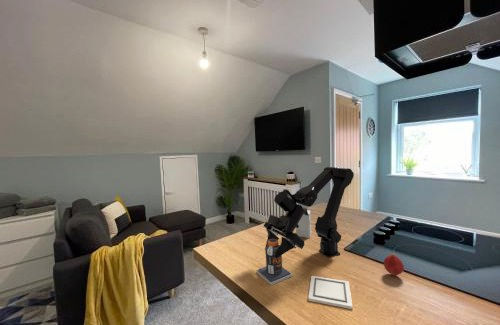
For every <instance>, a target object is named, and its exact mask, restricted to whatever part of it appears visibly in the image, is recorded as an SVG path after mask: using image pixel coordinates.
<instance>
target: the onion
mask: <svg viewBox="0 0 500 325" xmlns="http://www.w3.org/2000/svg"><path fill="white" fill-rule="evenodd" d="M383 266H384V269H385V270H386V271H387V273H389V274H390V275H392V277H396V276H398V275H401V274H402V273H403V272H404V269H405V267H404V263H403V262H402V260H401V259H400V258H399V257H398V256H396V254H395V253H391V254H389V255H387V256H386V257H385V258H384V260H383Z"/></svg>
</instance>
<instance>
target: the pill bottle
mask: <svg viewBox="0 0 500 325" xmlns="http://www.w3.org/2000/svg"><path fill="white" fill-rule="evenodd" d="M279 246H280V244H279V239H278V240H277V239H269V240H268V245H267V246H266V245H265V247H266V248H264V251H265V265H266V266H265V267H266V269H267V272H268V273H270V274H279V273H281V272H282V267H283V254H282V255H281V256H279V257H278V258H276V257H275V254H276V252H277V250H278V248H279Z"/></svg>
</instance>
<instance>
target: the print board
mask: <svg viewBox="0 0 500 325" xmlns="http://www.w3.org/2000/svg"><path fill="white" fill-rule="evenodd" d="M310 278H311V279H310V283H309V290H308V299H307V300H308V302H309V301H310V302H314V303H318V304H324V305H329V306H333V307H334V306H335V307H339V308H345V309H349V310H353V307H354V306H353V301H352V295H351V288H350V287H351V286H350V281H348V280H342V279H335V278H327V277H321V276H315V275H311V277H310Z"/></svg>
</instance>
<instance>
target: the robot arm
mask: <svg viewBox="0 0 500 325" xmlns="http://www.w3.org/2000/svg"><path fill="white" fill-rule="evenodd" d="M354 175H355V174H354V171H353V170H352V169H351V168H345V167H343V168H342V167H341V168H340V167H335V166H334V167H333V166H325V167H324V168H323V171H321V173H319V174H318V175H317V176H316V177H315V178H314V179H313V181H311V182H310V183H309V184H308V185H306V186H304V187H301V188H300V189H298V190H297V191H296V192H295V193H293V194H292V193H291V192H290V191H289V189H286V188H284V189H283V190H282V191H280V192H279V193H277V194H276V195H275V197H274V199H273V201H274V203H275V204H276V205H277V206H278V207H279V208H280V209H281V210H283V212H285V215H284V214H282V215H280V216H276V215H273V214H269V217H268V219H267V221H265V223H264V224H263V227H264V228H265V230H266V232H267V239H266V244H265V248H266V246H267V245H268V240H269V239H277V240H278V241H279V239H280V237H278V236H281V243H280V244H279V245H280V246H279V248H278V250H277V252H276V254H275V257H276V258H278V257H279V256H281V255H282V256H283V255H284V254H285V253H287V252H289V251H290V250H292V249H296V248H298V249H300V250H303V248H304V246H305V240H304V239H303V237H299V236H298V235H297V234H296V233H294V231H295V230H296V228H298V227H299V225H298V223H299V221H300V219H301V218H302V216H303V214H304V215H307V216H308V212H307V210H308V208H306V207H312V206H313V205H314V204H315V202H316V201H317V199H318V194H319V193H320V192H321V190H323V188H325V186H327V184H328V183H330V181H331V182H332V184H333V185H332V189H331V193H330V195H329V197H328V198H329V199H328V201H327V204H326V207H325V210H324V213H323V215H321V216H318V217H317V218H316V221H315V224H314V225H315V228H314V230H315V233H316V235H317V237H318V238H320V242H319V244H320V245H319V246H320V247H319V249H318V250H319V252H320V253H321V254H323V255H324V256H326V257H329V258H330V257H333V256H340V255H341V252H339V249H338V244H339V243H340V241H341V239H342V235H341V234H340V233H339V231H338V224H337V215H338V212H339V209H340V205H341V204H342V200H343V196H344V193H345V190H346V188H347V187H349V186H350V185H351V184H352V182H353V179H354ZM303 206H305V207H303ZM265 248H264V249H265Z"/></svg>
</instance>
